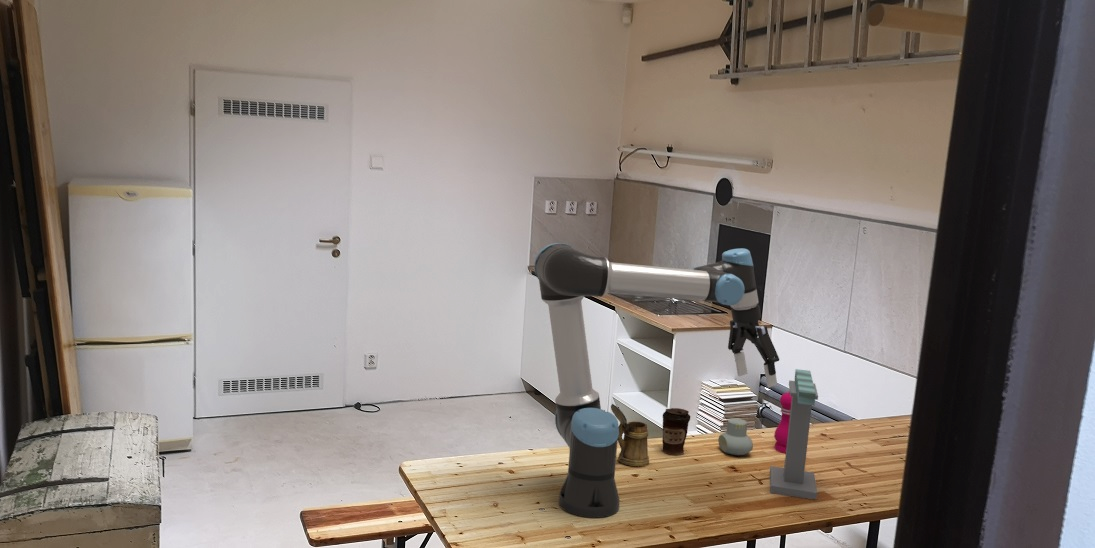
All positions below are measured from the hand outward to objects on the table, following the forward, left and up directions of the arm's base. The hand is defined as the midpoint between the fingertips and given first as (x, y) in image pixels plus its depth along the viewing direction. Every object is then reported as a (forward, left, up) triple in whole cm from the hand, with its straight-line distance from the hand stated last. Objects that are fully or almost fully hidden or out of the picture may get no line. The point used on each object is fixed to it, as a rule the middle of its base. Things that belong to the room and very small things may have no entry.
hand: (757, 380), depth 228 cm
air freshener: (-12, +22, -30) cm, 39 cm away
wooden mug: (-32, -10, -30) cm, 45 cm away
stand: (+11, +7, -29) cm, 32 cm away
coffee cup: (-26, +8, -30) cm, 40 cm away
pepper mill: (-1, +36, -29) cm, 46 cm away
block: (+12, +3, -1) cm, 12 cm away
